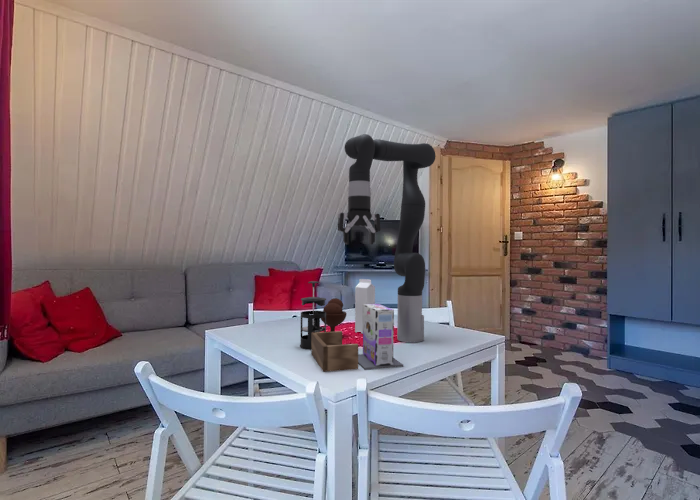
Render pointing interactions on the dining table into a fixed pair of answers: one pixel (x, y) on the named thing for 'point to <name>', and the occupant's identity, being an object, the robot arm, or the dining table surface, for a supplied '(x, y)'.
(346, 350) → the holder
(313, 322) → the french press
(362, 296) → the milk
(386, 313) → the candy box
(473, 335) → the dining table surface
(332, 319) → the ice cream bowl
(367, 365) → the mat
